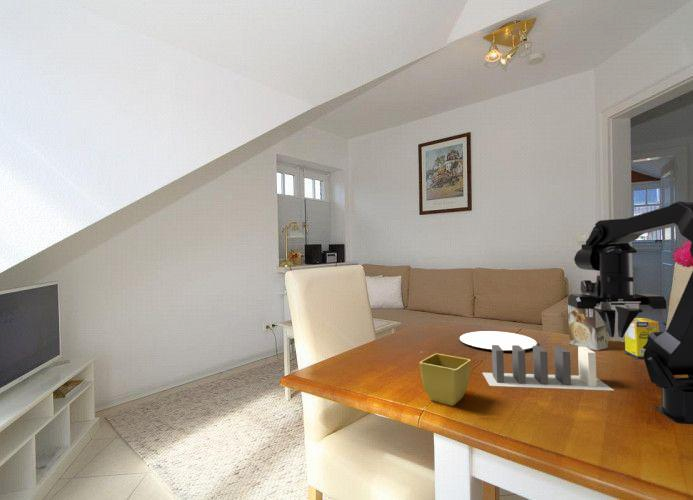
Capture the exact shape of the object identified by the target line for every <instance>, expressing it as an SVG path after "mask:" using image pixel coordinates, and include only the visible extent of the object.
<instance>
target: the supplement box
mask: <svg viewBox="0 0 693 500" xmlns="http://www.w3.org/2000/svg"><path fill="white" fill-rule="evenodd" d="M659 325H660V324H659V321H656V320H653V319H650V318H647V317H635V319H634V320H633V321H632V323H631V324H630V326H629V328H628V329H627V331H626V333H625V334H624V350H625V351H624V352H625V354H628V355H629V356H631V357H633V358H635V359H636V360H637V359H639V360H644V351H645V349H643V346H645V345H646V343H647V340H648V336H649V334H650V333H651V332H660V327H659Z"/></svg>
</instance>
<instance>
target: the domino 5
mask: <svg viewBox="0 0 693 500" xmlns="http://www.w3.org/2000/svg"><path fill="white" fill-rule="evenodd" d="M577 352H578V353H577V356H578V357H577V359H578V362H577V363H578V376H579V379H580V380H582V381H583V382H584V383H586V384H587V385H588V386H597V385H596V378H597V361H596V360H597V356H596V354H597V352H595V350H593V349H588V348H587V347H580V346H577Z"/></svg>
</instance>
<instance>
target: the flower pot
mask: <svg viewBox="0 0 693 500" xmlns="http://www.w3.org/2000/svg"><path fill="white" fill-rule="evenodd" d="M471 365H472V360H471V359H470V358H465V357H460V356H453V355H447V354H443V353H437V352H436V353H434V354H432V355H429V356H427V357H426V358H424V359H422V360H421V361H420V362H419V369H420V376H421V380H422V381H421V382H422V386H423V388H424V391H425V393H426V394H427V397H429V399H430V400H431V401H432V402H435V403H438V404H439V403H440V404H443V405H447V406H450V407H454V406H455V405H456V404H457V403H458V402H459V401H461V400H462V399H463V397H464V396H465V394H466V392H467V389H468V386H469V383H470V377H471V376H470V375H471V374H470V373H471Z"/></svg>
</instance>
